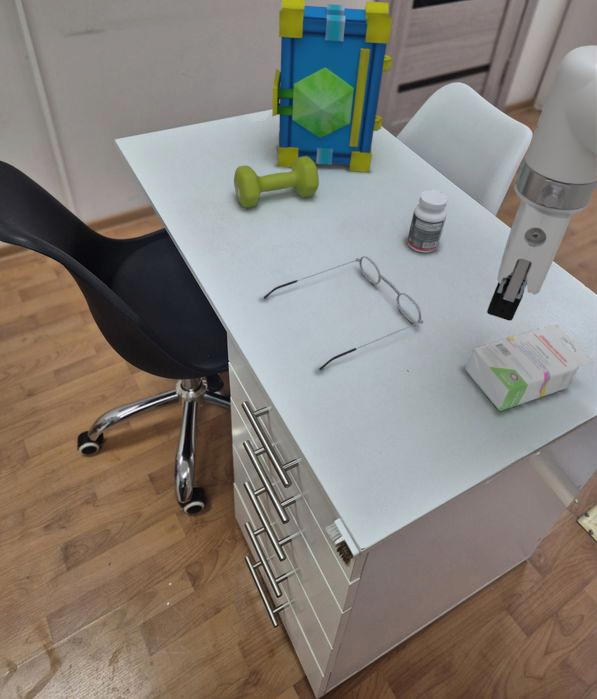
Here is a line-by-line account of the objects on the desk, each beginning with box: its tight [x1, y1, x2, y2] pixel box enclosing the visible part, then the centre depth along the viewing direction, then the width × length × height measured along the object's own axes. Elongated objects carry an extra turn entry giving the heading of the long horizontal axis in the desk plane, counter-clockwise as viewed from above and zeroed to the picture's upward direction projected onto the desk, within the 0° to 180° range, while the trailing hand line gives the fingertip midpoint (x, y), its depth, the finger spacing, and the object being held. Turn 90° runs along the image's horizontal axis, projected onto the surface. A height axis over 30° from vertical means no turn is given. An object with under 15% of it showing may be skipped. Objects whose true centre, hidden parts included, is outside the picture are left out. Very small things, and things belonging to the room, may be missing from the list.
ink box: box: [465, 324, 595, 412], centre depth 77 cm, size 9×5×15 cm
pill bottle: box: [407, 189, 448, 254], centre depth 98 cm, size 6×6×10 cm
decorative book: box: [271, 0, 393, 173], centre depth 112 cm, size 14×23×30 cm, turn 88°
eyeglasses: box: [263, 256, 424, 371], centre depth 86 cm, size 18×19×4 cm
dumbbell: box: [233, 156, 320, 209], centre depth 108 cm, size 16×8×7 cm, turn 112°
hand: (500, 313), depth 70 cm, fingers closed
